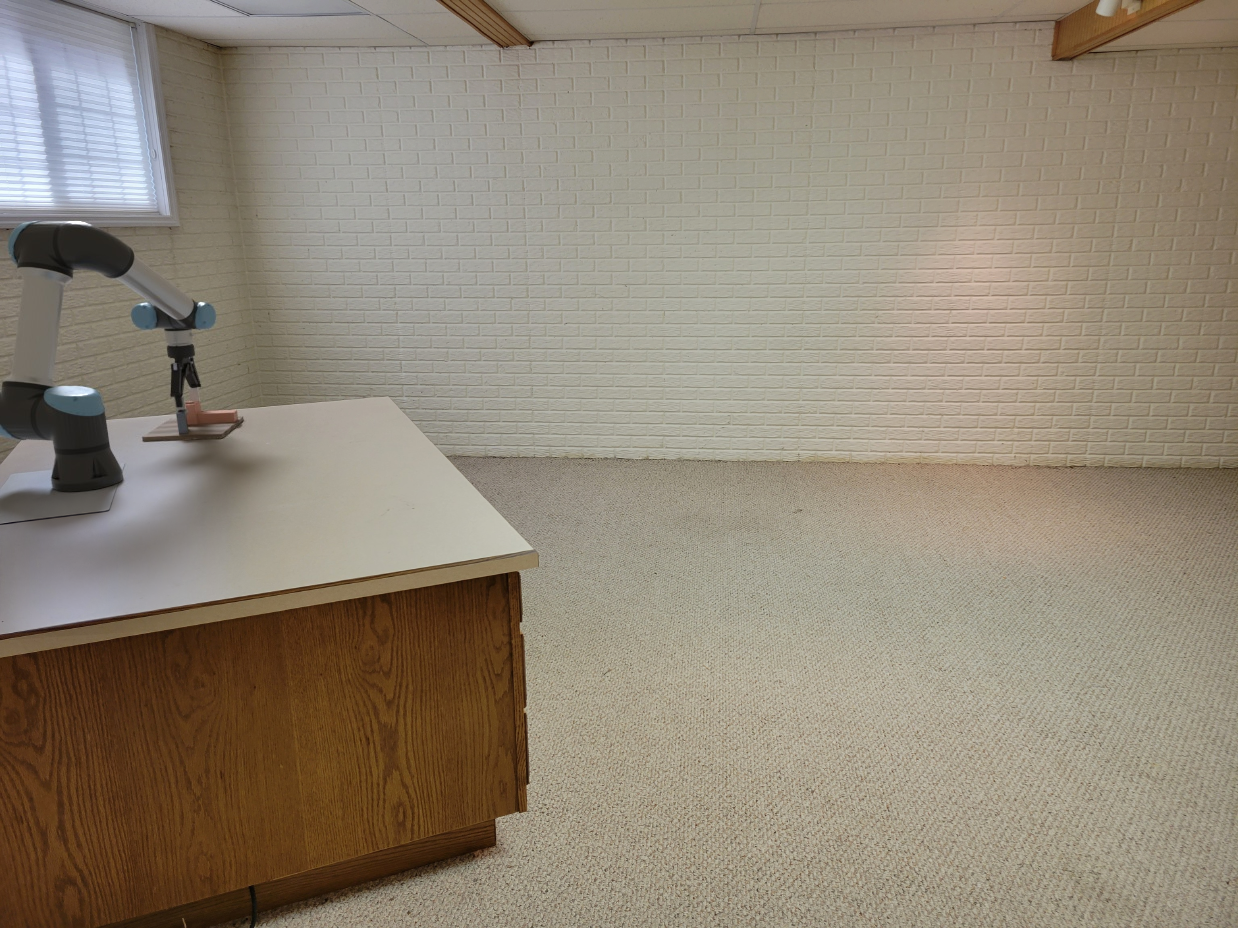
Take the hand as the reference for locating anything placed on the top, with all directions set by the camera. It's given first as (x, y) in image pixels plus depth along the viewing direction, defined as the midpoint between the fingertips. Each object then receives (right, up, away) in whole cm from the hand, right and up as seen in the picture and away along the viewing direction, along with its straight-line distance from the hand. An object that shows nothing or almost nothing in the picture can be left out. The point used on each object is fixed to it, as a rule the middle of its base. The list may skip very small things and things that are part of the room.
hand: (189, 413), depth 275 cm
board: (+4, -5, -4) cm, 8 cm away
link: (+5, -3, +2) cm, 6 cm away
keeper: (+4, -7, -11) cm, 14 cm away
